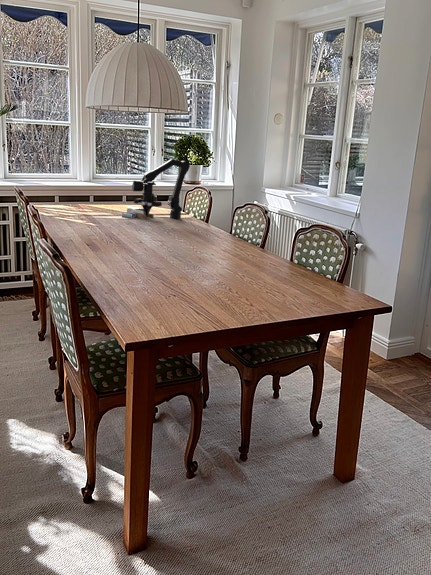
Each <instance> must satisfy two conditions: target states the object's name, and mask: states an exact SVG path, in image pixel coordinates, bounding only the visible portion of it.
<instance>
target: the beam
mask: <svg viewBox="0 0 431 575" xmlns="http://www.w3.org/2000/svg"><path fill="white" fill-rule="evenodd" d="M129 213H130V212H129ZM135 214H136V213H135ZM120 215H121V216H122V213H121V214H120ZM136 219H142V220H148V219H154V213H150V212H149V215H148V216H147V215H142V214H137V218H136Z"/></svg>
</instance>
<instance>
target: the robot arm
mask: <svg viewBox="0 0 431 575" xmlns="http://www.w3.org/2000/svg"><path fill="white" fill-rule="evenodd" d="M174 166H175V167H177V170H178V173H177V178H176V182H175V184H174V189H173V193H172V195H169V196H168V200H167V205H168V207H169V208H170V212H169V218H170V219H172V220H181V219H182V218H181V217H182V210H183V207H181V206H180V195H181V190H182V187H183V184H184V179H185V177H186V175H187V173H188V172H189V170H190V167H191V165H190V163H189V162H188V161H186V160H176V159H173V158H170V159H169V160H167V161H165V162H164V163H162V164H161V165H160V166H158V167H156V168H155V169H151V170H148V171H146V172H144V173H143V176H142V178H141V179H140V180H132V185H131V190H132V192H139V193H140V192H142V195H143V198H140V197H139V198H135V199H134V200H133V203H134V204H139V203H141V204H140V206H142V207H141V208H142V209H144V211H145V213H146V215H147V216H148V215H149V213H150V212H151V209H152V208H153V207H162V205H163V204H162V202H161V201H160V200H159V201H158V197H157V196H155V195H154V193H153V190H154V188H153V186H156V185H157V184H156V183H155V181H154V180H155V179H156V178H157V176H159V175H160V174H162V173H163V172H165V171H167V170H168V169H169V168H172V167H174Z"/></svg>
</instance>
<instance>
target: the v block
mask: <svg viewBox="0 0 431 575" xmlns="http://www.w3.org/2000/svg"><path fill="white" fill-rule="evenodd" d="M121 214H122V215H121V217H122V218H128V219H131V220H132V219H138V218H137V214H135V213H129V212H127V211H126V212H125V213H124V212H122V213H121Z"/></svg>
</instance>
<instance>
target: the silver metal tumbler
mask: <svg viewBox="0 0 431 575" xmlns="http://www.w3.org/2000/svg"><path fill="white" fill-rule="evenodd" d="M127 212H130V213H136V214H142V215H146V213H145V211H144V209H143V207H135V206H128V207H127V208H126V213H127Z"/></svg>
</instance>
